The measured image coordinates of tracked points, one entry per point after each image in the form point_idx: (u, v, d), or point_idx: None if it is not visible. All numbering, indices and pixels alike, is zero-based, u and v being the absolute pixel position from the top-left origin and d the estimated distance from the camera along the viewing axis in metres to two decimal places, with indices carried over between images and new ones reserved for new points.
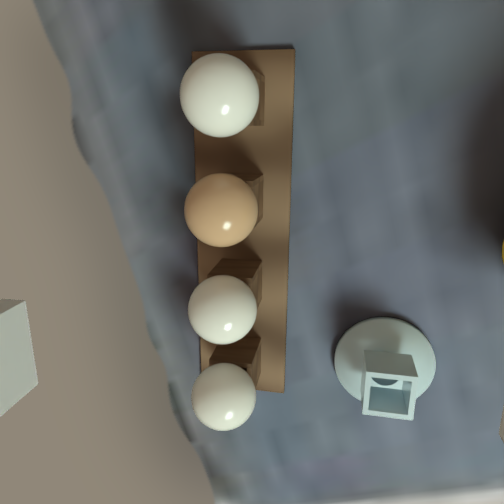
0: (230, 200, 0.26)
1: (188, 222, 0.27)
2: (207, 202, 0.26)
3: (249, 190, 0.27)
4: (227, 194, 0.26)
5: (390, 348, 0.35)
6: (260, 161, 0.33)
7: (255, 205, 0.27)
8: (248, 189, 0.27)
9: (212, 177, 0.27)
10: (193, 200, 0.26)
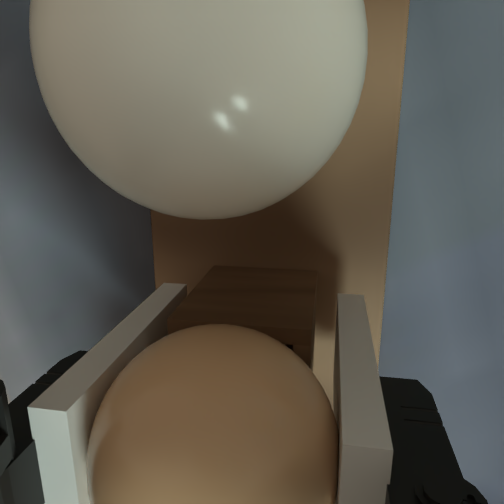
0: (256, 488, 0.06)
1: None
2: (160, 499, 0.06)
3: (317, 403, 0.08)
4: (240, 460, 0.06)
5: None
6: (309, 240, 0.14)
7: (338, 452, 0.08)
8: (315, 402, 0.07)
9: (181, 364, 0.07)
10: (109, 470, 0.07)
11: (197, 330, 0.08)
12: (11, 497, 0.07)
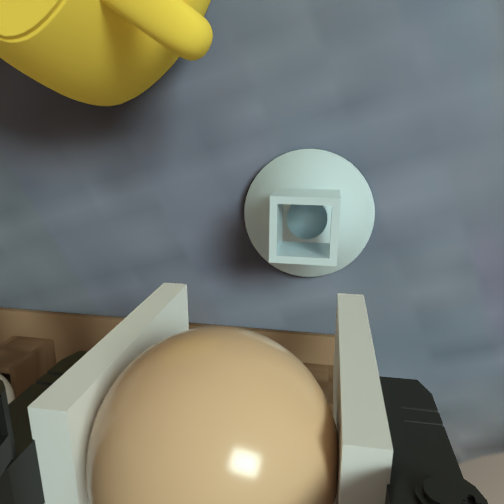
0: (255, 490, 0.06)
1: None
2: (159, 501, 0.06)
3: (316, 405, 0.08)
4: (239, 462, 0.06)
5: (283, 208, 0.27)
6: (85, 345, 0.32)
7: (337, 454, 0.08)
8: (314, 405, 0.08)
9: (180, 367, 0.07)
10: (108, 472, 0.07)
11: (196, 332, 0.08)
12: (11, 497, 0.07)
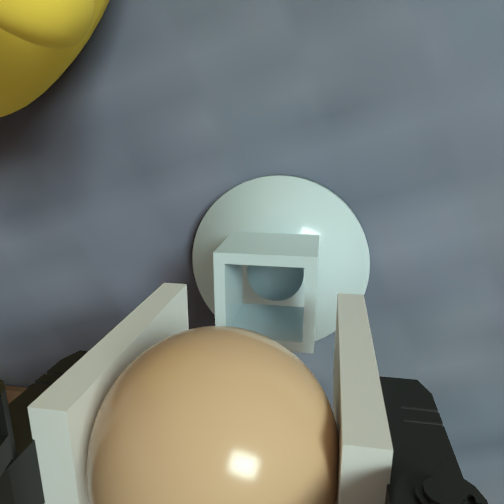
0: (256, 490, 0.06)
1: None
2: (159, 501, 0.06)
3: (317, 405, 0.08)
4: (239, 463, 0.06)
5: None
6: None
7: (337, 454, 0.08)
8: (315, 404, 0.07)
9: (180, 367, 0.07)
10: (108, 473, 0.07)
11: (197, 332, 0.08)
12: (11, 497, 0.07)
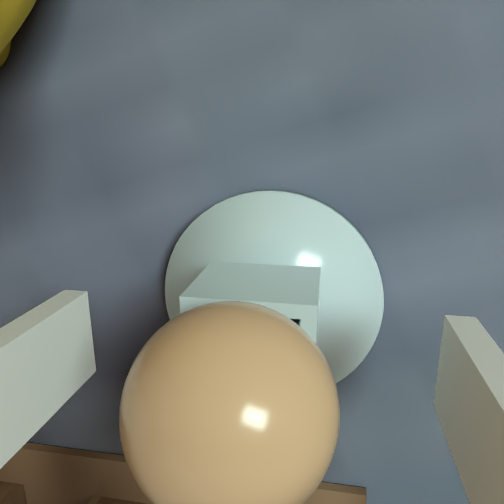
0: (268, 429, 0.07)
1: None
2: (187, 438, 0.07)
3: (319, 366, 0.09)
4: (254, 406, 0.08)
5: None
6: None
7: (337, 409, 0.09)
8: (318, 365, 0.09)
9: (203, 331, 0.08)
10: (143, 418, 0.08)
11: (214, 304, 0.09)
12: None
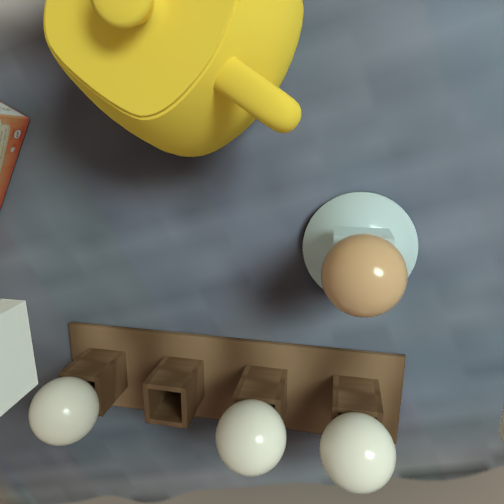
0: (388, 268, 0.23)
1: (332, 290, 0.24)
2: (361, 270, 0.23)
3: (401, 254, 0.24)
4: (383, 261, 0.23)
5: None
6: (154, 357, 0.37)
7: None
8: (401, 254, 0.24)
9: (360, 239, 0.24)
10: (342, 267, 0.23)
11: None
12: None
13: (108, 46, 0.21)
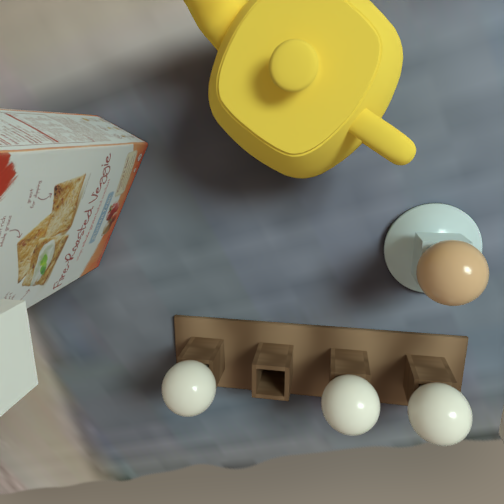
0: (478, 267, 0.29)
1: (431, 285, 0.30)
2: (458, 269, 0.29)
3: (483, 256, 0.31)
4: (474, 262, 0.29)
5: (414, 244, 0.38)
6: (249, 343, 0.43)
7: None
8: None
9: (453, 245, 0.30)
10: (441, 267, 0.30)
11: (448, 240, 0.31)
12: None
13: (270, 101, 0.27)
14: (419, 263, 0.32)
